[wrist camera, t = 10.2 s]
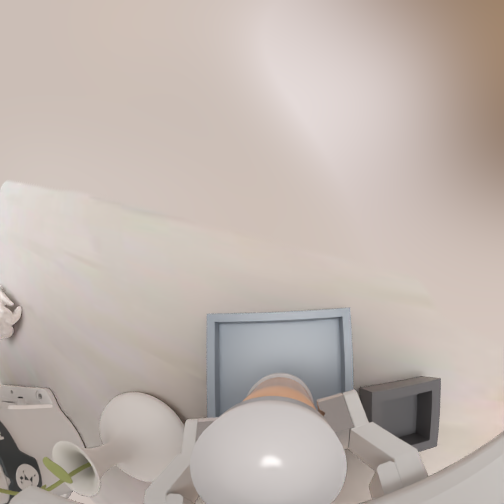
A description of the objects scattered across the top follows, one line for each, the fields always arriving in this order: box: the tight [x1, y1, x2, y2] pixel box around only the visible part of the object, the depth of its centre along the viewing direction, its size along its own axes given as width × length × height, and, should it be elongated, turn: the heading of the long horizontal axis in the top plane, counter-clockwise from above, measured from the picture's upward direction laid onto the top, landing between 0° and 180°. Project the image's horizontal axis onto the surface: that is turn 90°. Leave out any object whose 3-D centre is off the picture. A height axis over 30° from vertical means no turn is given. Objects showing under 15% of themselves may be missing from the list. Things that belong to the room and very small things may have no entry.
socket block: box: [360, 376, 441, 452], centre depth 22 cm, size 7×7×4 cm
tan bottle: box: [190, 373, 347, 504], centre depth 10 cm, size 4×4×11 cm
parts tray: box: [207, 308, 353, 418], centre depth 26 cm, size 14×14×2 cm
